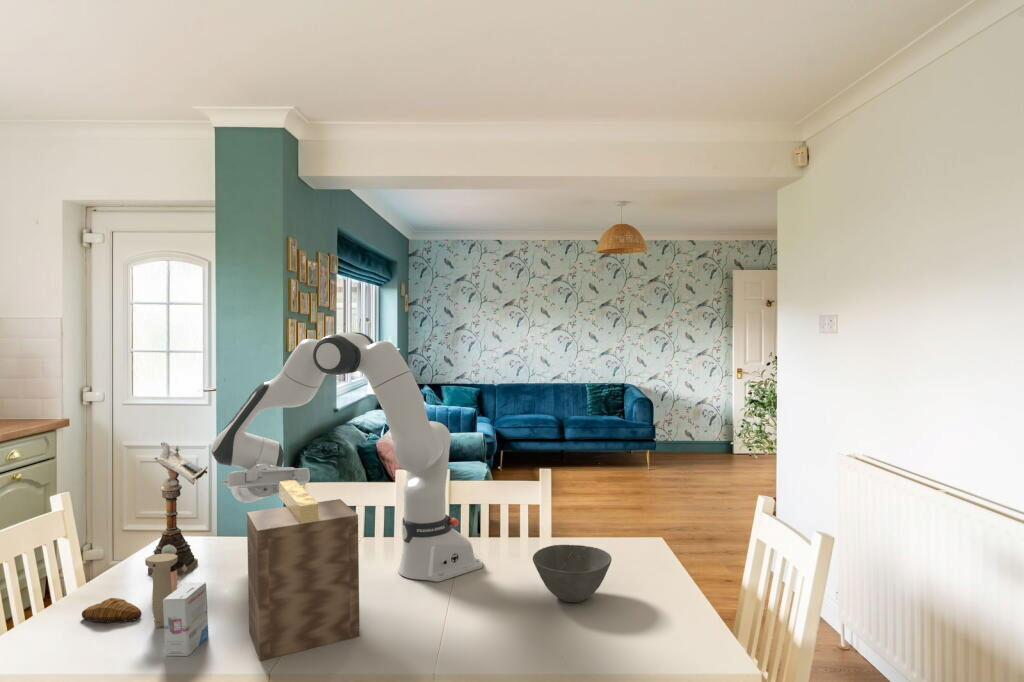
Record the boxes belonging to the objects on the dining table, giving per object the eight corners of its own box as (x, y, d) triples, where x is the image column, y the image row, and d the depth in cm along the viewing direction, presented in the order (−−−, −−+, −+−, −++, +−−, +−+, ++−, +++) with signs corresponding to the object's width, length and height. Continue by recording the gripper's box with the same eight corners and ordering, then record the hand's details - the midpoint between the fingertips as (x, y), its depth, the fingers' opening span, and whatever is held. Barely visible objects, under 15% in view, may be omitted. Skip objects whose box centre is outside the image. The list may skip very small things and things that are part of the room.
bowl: (620, 589, 162) (620, 549, 161) (597, 621, 145) (597, 577, 144) (550, 576, 170) (550, 538, 169) (520, 606, 152) (520, 563, 152)
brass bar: (295, 494, 153) (294, 479, 153) (318, 521, 133) (318, 503, 133) (279, 496, 151) (278, 481, 151) (300, 523, 132) (300, 506, 131)
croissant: (71, 626, 144) (71, 603, 144) (93, 612, 151) (93, 590, 150) (130, 627, 143) (129, 605, 143) (149, 613, 150) (149, 592, 149)
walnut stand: (341, 610, 150) (340, 498, 150) (359, 636, 138) (358, 514, 137) (249, 631, 140) (246, 512, 140) (259, 661, 128) (257, 530, 127)
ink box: (186, 635, 139) (184, 580, 138) (209, 636, 139) (208, 581, 138) (163, 656, 130) (162, 598, 130) (188, 656, 130) (186, 598, 130)
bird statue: (223, 557, 185) (221, 434, 183) (207, 575, 172) (204, 443, 170) (161, 559, 183) (158, 435, 181) (140, 578, 170) (137, 444, 168)
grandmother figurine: (154, 603, 155) (153, 550, 154) (150, 598, 158) (149, 546, 157) (189, 594, 160) (188, 543, 159) (185, 589, 163) (183, 539, 162)
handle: (169, 630, 141) (167, 562, 140) (142, 629, 142) (140, 561, 141) (183, 620, 146) (181, 554, 145) (157, 618, 147) (155, 553, 146)
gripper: (219, 471, 168) (234, 462, 158) (298, 467, 181) (316, 459, 170) (219, 496, 166) (234, 489, 156) (299, 490, 179) (317, 483, 169)
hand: (278, 473), depth 163 cm, fingers open, 8 cm apart
